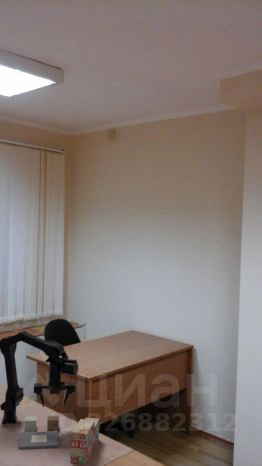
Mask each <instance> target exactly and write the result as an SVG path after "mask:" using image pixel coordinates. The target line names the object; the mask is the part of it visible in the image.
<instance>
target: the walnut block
mask: <svg viewBox="0 0 262 466" xmlns="http://www.w3.org/2000/svg"><path fill="white" fill-rule="evenodd" d="M59 416H60V415H58V414H57V415H54V414H53V415H47V421H46V422H47V423H46V429H47V430H46V431H50V430H57V431H59V425H60V424H59V421H60V417H59Z"/></svg>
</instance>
